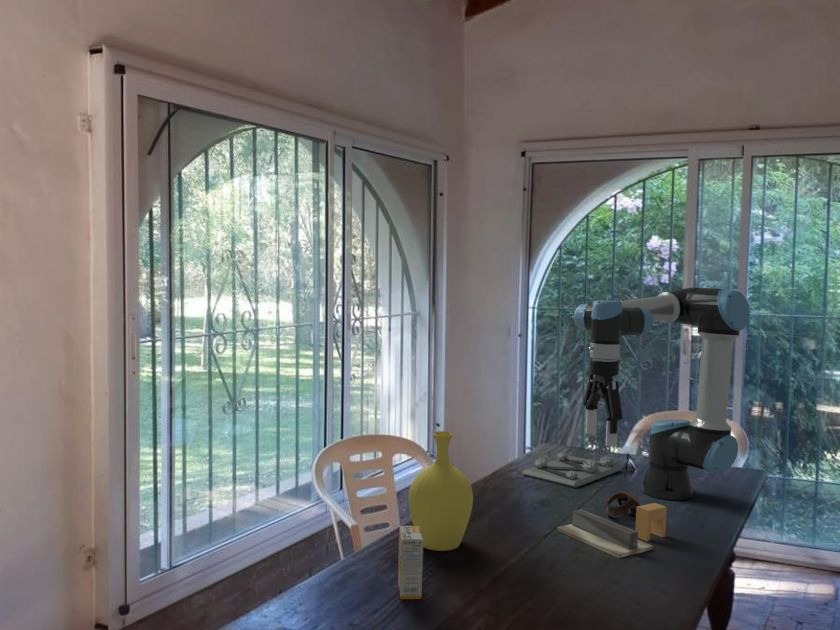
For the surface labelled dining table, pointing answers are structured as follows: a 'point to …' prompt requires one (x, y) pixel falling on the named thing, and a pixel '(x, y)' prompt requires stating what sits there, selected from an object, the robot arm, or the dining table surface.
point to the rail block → (604, 534)
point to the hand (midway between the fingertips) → (600, 439)
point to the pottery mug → (622, 504)
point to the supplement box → (410, 562)
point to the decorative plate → (571, 470)
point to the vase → (441, 500)
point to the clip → (650, 520)
